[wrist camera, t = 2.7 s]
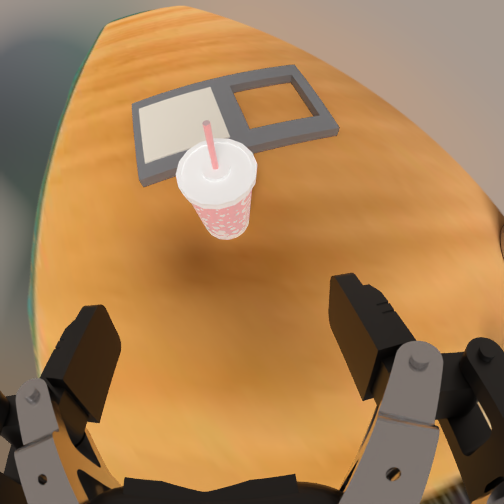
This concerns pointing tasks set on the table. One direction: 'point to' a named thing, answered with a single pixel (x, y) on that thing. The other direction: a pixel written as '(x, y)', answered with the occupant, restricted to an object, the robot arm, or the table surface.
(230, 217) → the beverage cup
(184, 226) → the table surface
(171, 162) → the hole board
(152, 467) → the table surface
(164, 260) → the table surface
